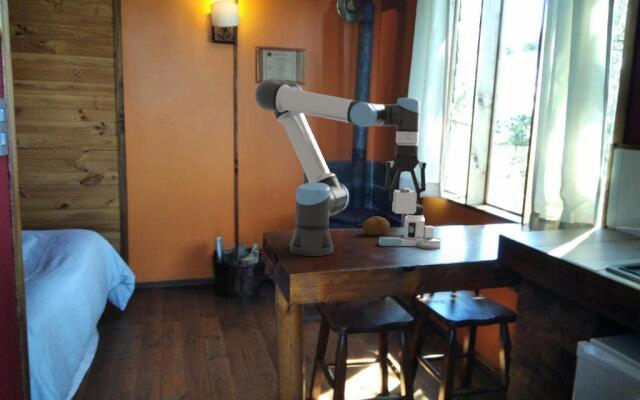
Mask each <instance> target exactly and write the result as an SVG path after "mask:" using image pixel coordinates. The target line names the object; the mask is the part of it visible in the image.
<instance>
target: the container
mask: <svg viewBox="0 0 640 400" xmlns="http://www.w3.org/2000/svg"><path fill="white" fill-rule="evenodd" d="M424 211H425V207H424V206H423V205H421V204H416V212H415V213H414V214H406V216H405V217H404V224H403V225H404V226H403V239H416V237H417V236H424V226H425V222H426V221H425V217H424Z"/></svg>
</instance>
